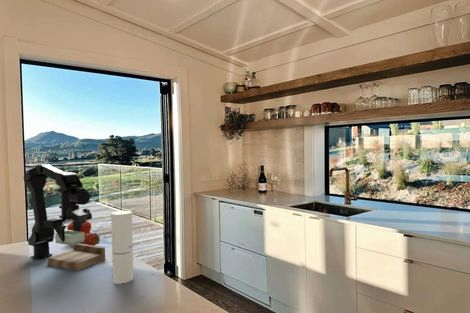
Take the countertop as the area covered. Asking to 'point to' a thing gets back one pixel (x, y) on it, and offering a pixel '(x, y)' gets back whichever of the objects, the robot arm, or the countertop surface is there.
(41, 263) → the countertop surface
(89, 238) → the dragon fruit
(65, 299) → the countertop surface
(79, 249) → the walnut shelf
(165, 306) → the countertop surface
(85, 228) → the apple
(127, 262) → the cylindrical container
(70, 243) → the sage tray
